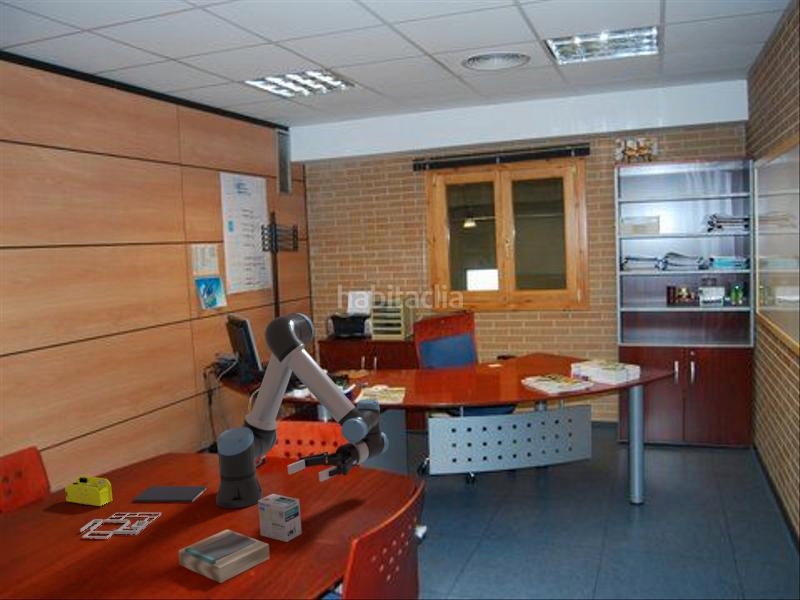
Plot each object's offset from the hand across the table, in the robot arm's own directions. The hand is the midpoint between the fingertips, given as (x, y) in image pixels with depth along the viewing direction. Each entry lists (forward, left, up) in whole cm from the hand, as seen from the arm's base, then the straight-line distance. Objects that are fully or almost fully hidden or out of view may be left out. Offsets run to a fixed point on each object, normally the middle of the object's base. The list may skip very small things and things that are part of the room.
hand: (303, 473), depth 205 cm
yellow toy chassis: (-78, -28, -16) cm, 84 cm away
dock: (-1, -30, -15) cm, 34 cm away
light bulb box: (-1, -10, -16) cm, 19 cm away
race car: (-58, +26, -16) cm, 66 cm away
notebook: (-59, -9, -16) cm, 61 cm away
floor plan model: (-48, -36, -16) cm, 62 cm away
